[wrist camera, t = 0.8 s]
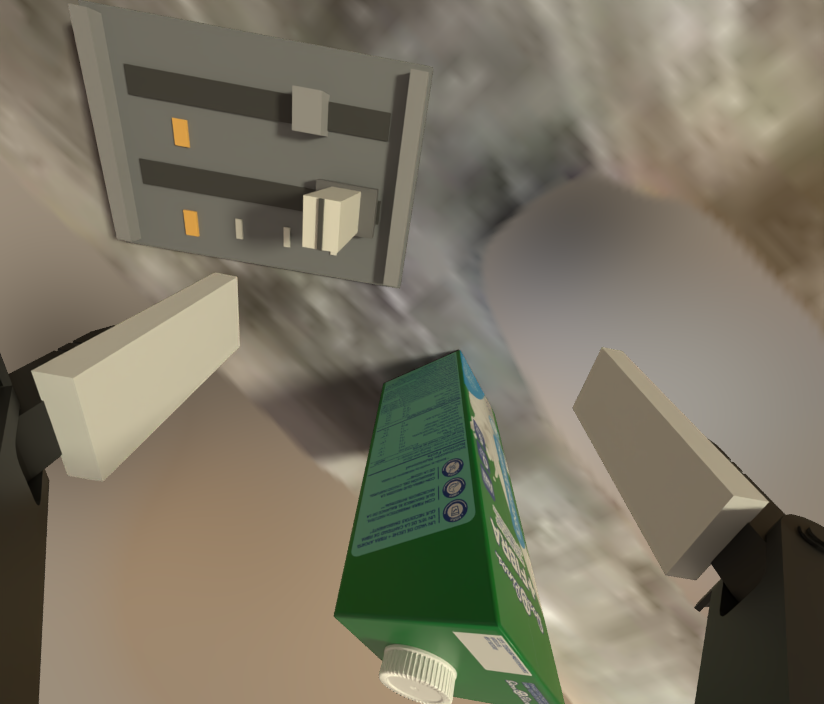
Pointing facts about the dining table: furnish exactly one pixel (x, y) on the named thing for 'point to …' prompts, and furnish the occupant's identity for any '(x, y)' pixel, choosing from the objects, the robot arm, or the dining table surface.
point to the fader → (338, 214)
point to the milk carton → (444, 551)
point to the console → (248, 138)
